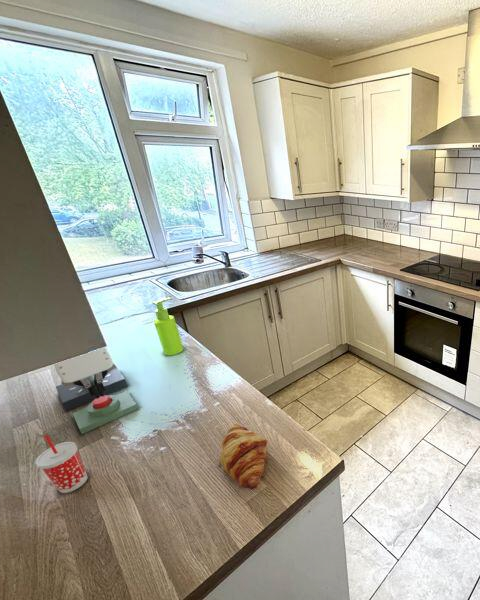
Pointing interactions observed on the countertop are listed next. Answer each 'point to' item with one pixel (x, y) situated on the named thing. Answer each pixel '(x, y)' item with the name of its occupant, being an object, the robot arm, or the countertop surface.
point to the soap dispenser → (167, 329)
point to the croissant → (243, 456)
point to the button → (101, 402)
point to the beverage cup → (62, 466)
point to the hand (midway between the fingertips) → (99, 395)
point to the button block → (104, 412)
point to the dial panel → (81, 396)
